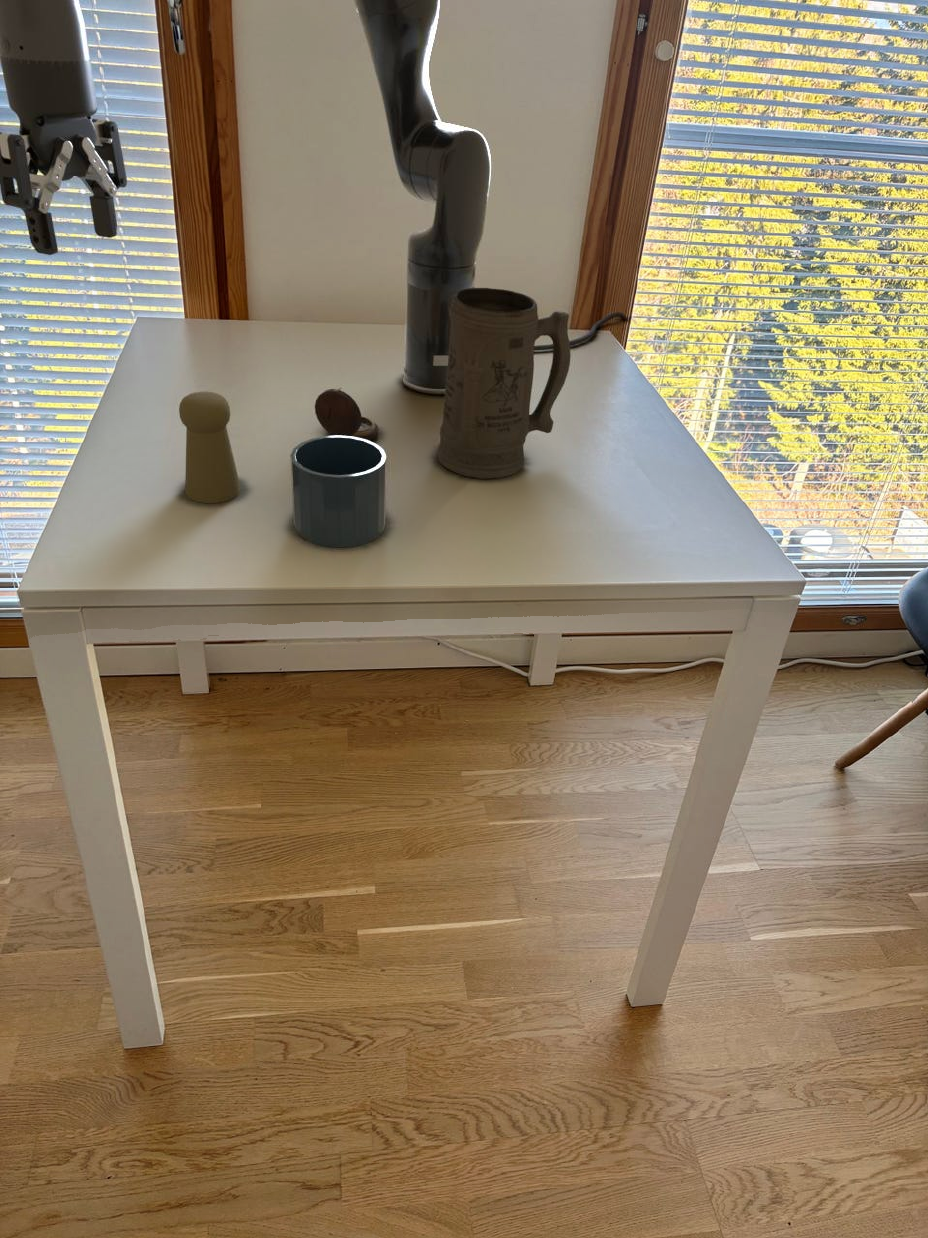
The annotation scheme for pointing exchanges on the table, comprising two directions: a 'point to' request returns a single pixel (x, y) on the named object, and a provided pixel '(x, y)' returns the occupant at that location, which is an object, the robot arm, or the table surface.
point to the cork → (208, 449)
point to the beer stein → (496, 380)
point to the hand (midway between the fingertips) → (78, 244)
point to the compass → (343, 416)
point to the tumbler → (338, 490)
